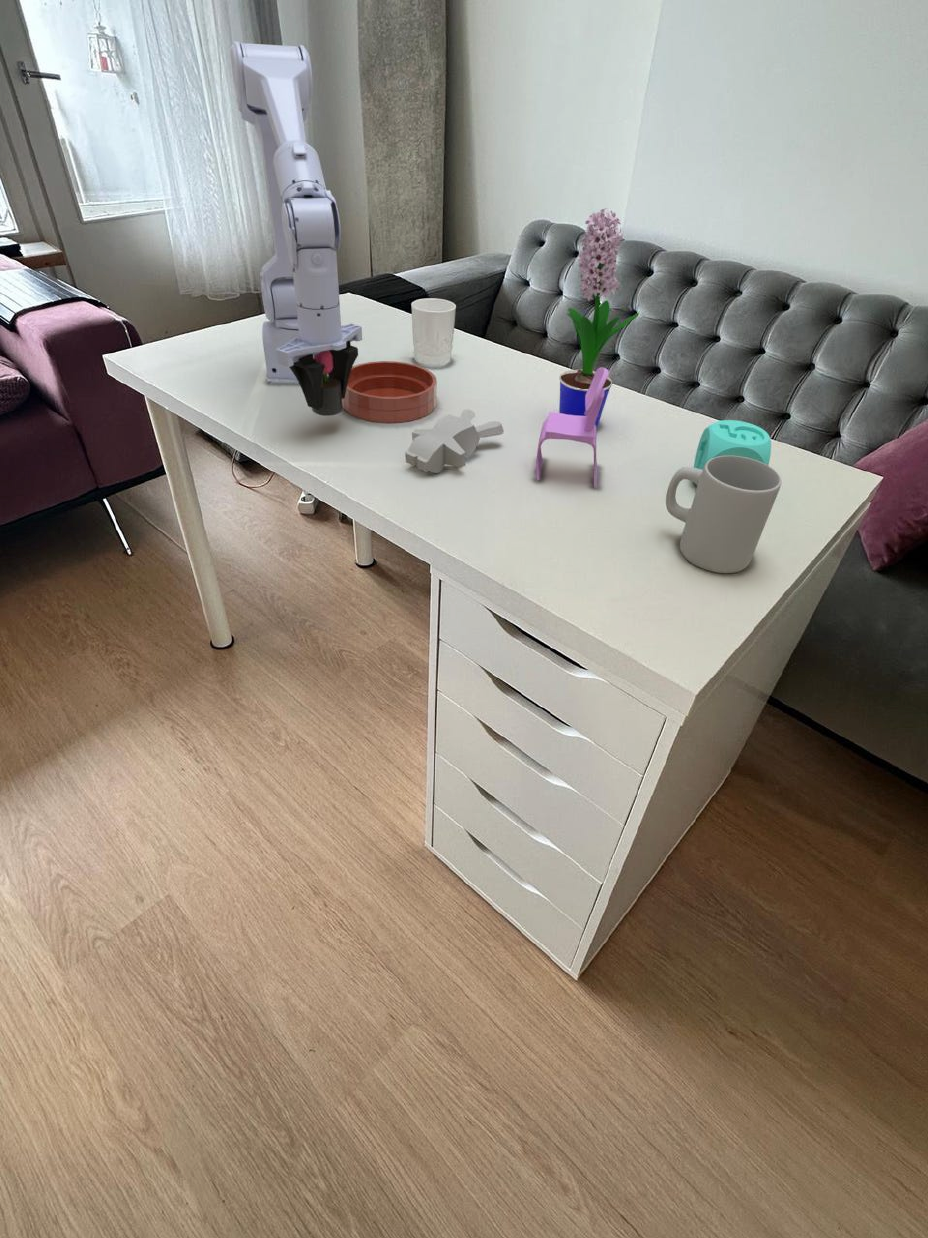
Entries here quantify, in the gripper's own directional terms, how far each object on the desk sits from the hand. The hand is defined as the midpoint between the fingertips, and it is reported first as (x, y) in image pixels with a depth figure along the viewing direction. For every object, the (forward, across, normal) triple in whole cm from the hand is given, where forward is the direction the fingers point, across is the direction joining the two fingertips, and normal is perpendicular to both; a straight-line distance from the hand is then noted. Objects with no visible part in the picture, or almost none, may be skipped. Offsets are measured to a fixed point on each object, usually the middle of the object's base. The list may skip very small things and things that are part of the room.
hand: (326, 401), depth 98 cm
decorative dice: (+5, +24, -52) cm, 58 cm away
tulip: (+1, 0, 0) cm, 1 cm away
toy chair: (+5, +13, -34) cm, 36 cm away
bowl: (+5, +14, 0) cm, 14 cm away
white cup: (+5, +34, +6) cm, 35 cm away
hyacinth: (+5, +29, -28) cm, 41 cm away
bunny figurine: (+5, +6, -18) cm, 20 cm away
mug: (+5, +7, -56) cm, 56 cm away
